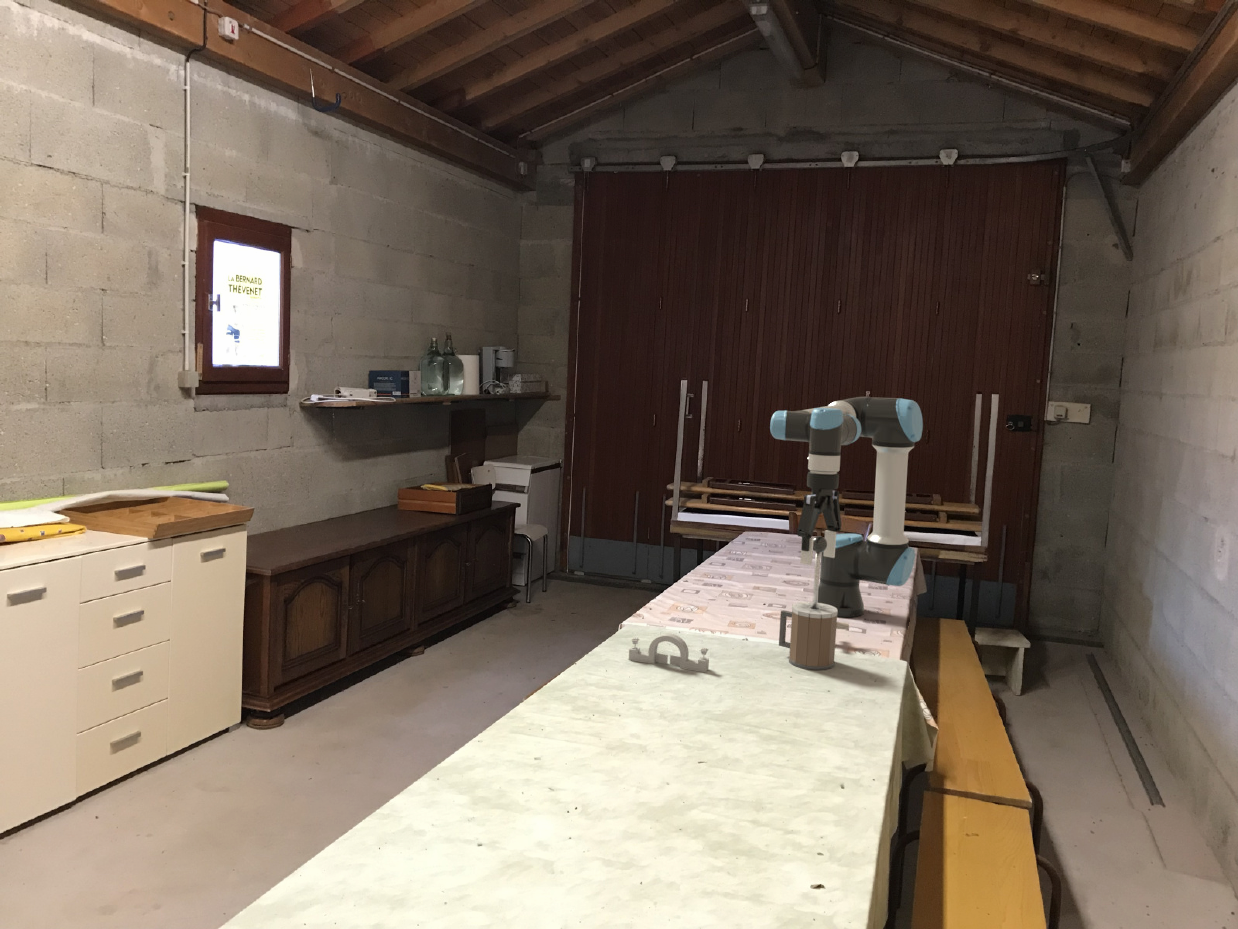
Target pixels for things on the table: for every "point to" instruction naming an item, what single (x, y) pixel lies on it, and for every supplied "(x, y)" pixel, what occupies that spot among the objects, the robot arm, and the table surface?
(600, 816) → the table surface
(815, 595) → the plunger
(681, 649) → the gateway
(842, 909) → the table surface
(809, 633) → the wooden mug
